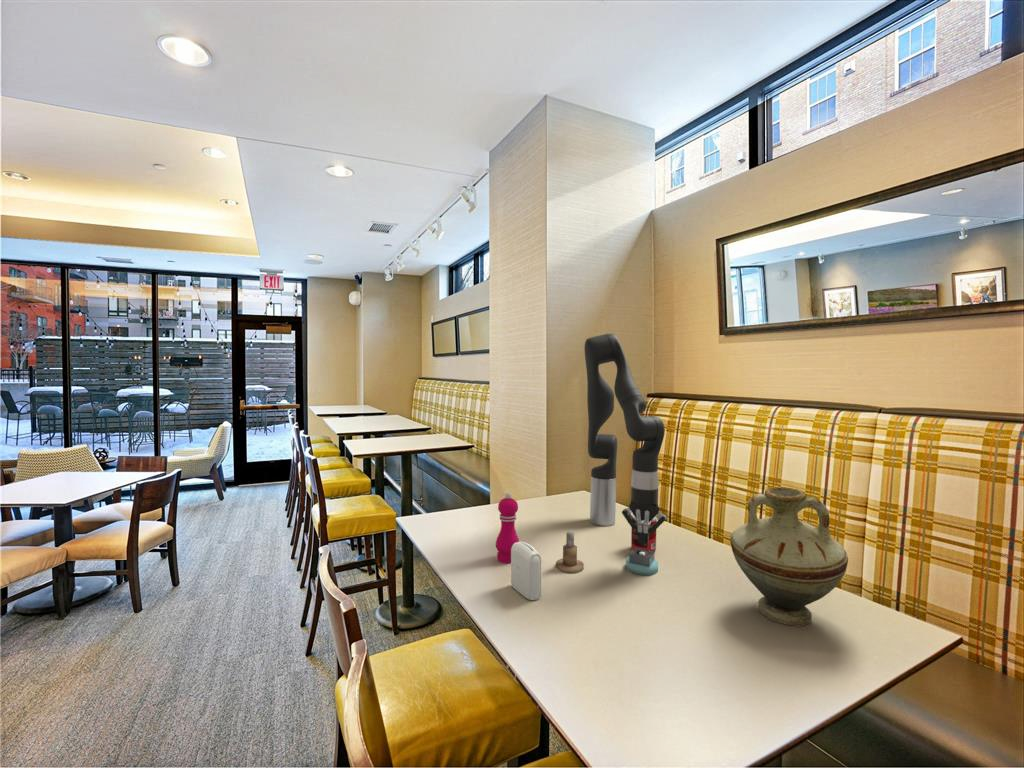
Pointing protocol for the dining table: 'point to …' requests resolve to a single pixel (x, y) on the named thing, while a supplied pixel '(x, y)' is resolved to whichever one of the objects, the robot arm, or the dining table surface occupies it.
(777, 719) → the dining table surface
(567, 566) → the stand
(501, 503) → the pepper mill
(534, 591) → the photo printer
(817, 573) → the amphora
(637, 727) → the dining table surface
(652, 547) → the canned food
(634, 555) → the square metal frame
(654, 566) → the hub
